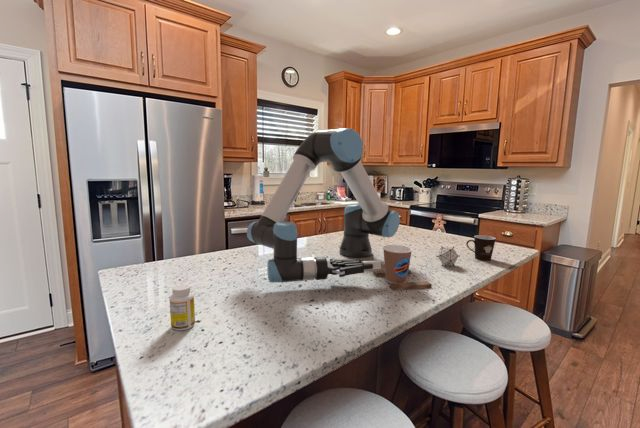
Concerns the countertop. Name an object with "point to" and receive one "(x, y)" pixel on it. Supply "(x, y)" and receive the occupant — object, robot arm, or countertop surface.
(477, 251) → the coffee mug
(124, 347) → the countertop surface
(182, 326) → the supplement bottle
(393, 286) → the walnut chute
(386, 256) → the coffee cup
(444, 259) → the game die
